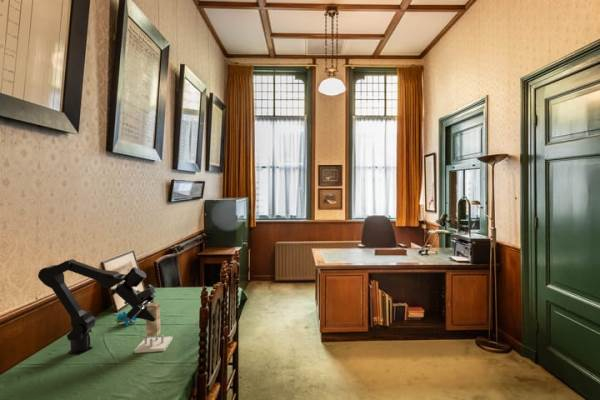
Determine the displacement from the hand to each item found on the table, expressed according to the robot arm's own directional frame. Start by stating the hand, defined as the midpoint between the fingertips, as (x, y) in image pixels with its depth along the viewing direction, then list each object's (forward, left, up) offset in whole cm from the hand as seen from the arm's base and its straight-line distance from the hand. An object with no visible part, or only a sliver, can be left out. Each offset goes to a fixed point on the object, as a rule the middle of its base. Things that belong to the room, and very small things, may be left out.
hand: (156, 318), depth 147 cm
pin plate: (-1, +1, -12) cm, 12 cm away
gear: (+17, +34, -12) cm, 40 cm away
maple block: (-1, +1, -7) cm, 7 cm away
